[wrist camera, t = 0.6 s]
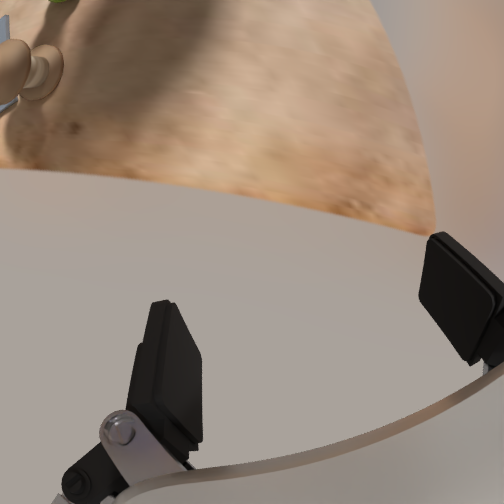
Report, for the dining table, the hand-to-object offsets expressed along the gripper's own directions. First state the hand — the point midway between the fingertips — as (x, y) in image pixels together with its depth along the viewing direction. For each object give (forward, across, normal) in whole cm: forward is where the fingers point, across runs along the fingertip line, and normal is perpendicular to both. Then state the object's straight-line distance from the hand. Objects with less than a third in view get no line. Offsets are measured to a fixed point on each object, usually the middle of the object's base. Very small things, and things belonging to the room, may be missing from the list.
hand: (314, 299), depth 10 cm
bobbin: (+29, +24, -20) cm, 42 cm away
